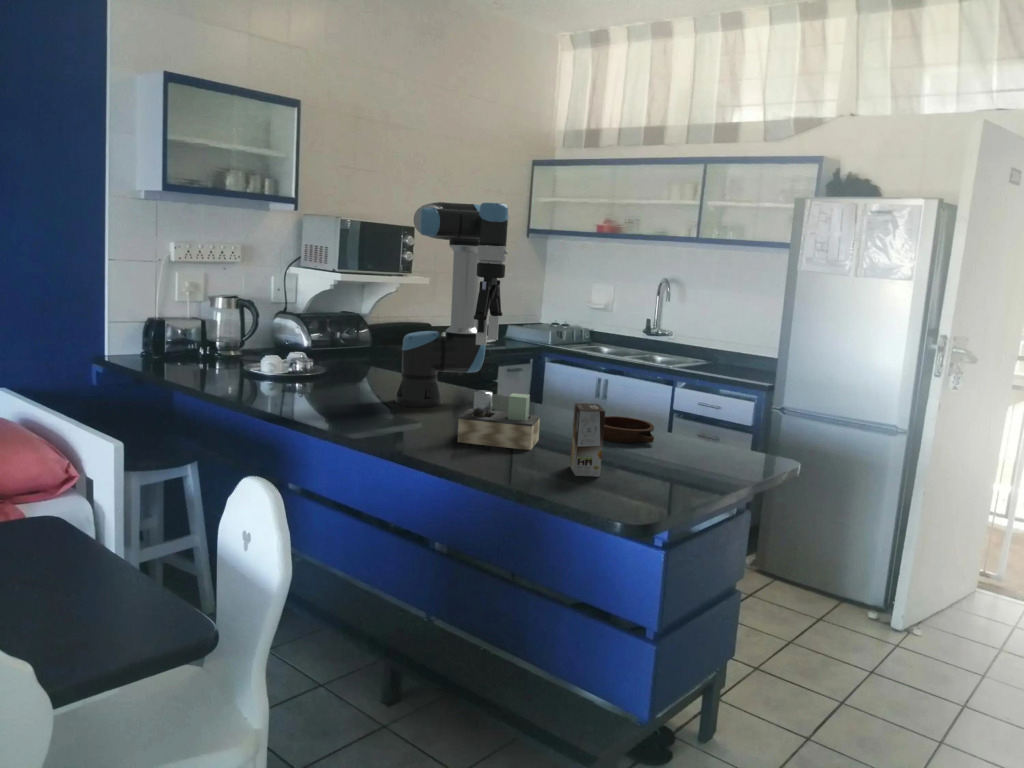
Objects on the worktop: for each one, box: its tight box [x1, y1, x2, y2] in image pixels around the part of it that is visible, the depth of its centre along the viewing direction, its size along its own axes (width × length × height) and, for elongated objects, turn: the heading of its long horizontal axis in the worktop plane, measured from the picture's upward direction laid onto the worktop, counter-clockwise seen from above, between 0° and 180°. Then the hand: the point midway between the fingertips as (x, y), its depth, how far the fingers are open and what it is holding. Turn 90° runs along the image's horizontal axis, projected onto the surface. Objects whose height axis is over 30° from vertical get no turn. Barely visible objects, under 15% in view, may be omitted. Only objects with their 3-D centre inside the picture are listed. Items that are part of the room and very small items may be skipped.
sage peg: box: [507, 392, 531, 421], centre depth 224 cm, size 5×5×7 cm
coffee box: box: [569, 402, 606, 478], centre depth 200 cm, size 9×6×16 cm
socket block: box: [457, 407, 541, 451], centre depth 226 cm, size 20×12×7 cm, turn 78°
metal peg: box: [472, 389, 494, 417], centre depth 226 cm, size 5×5×7 cm
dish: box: [603, 415, 655, 444], centre depth 238 cm, size 18×22×5 cm
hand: (487, 342), depth 223 cm, fingers open, 13 cm apart
